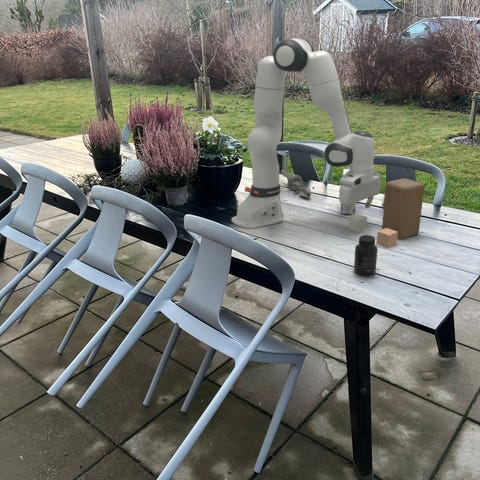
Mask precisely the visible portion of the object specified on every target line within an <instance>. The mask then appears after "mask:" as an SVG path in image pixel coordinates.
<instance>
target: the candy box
mask: <svg viewBox="0 0 480 480" xmlns="http://www.w3.org/2000/svg"><path fill="white" fill-rule="evenodd" d="M349 170H350V168H343V169H342V176H344V175H345V174H346V173H347V172H348V171H349ZM340 204H341V203H340ZM340 208H341V212H340V214H341V215H350V214H349V209H348V207H347V205H343V204H341V207H340ZM353 209H355V210H356V203H354V204H353ZM354 214H356V212H355V213H353V214H352V215H354Z"/></svg>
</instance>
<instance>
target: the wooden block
mask: <svg viewBox="0 0 480 480" xmlns="http://www.w3.org/2000/svg"><path fill="white" fill-rule="evenodd" d="M398 179H399V178H398ZM424 194H425V184H424V183H422V182H419V181H415V180H412V179H410V178H406V177H405V178H400V179H399V180H395V179H394V180H389V181H387V182H386V183H385V191H384V202H383V213H382V223H381V230H382V229H385V228H388V229H391V230H394V231H397V232H398V237H397V240H403V239H405V238H409V237H413V236H416V235H418V234H419V233H420V225H421V218H422V217H421V215H422V209H423V202H424V201H423V200H424Z"/></svg>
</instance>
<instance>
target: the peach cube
mask: <svg viewBox="0 0 480 480" xmlns="http://www.w3.org/2000/svg"><path fill="white" fill-rule="evenodd" d="M397 237H398V232H397V231H394V230H391V229H388V228H385V229H382V228H381V230H378V231H377V233H376V242H375V245H379V246H381V247H383V248H386V249H389V248H392V247H394V246H397V244H398V238H397Z"/></svg>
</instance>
